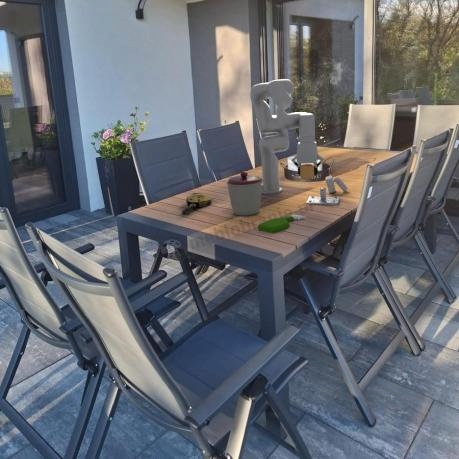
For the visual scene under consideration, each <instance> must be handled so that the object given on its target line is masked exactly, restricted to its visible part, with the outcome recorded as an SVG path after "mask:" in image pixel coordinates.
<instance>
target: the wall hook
mask: <svg viewBox="0 0 459 459" xmlns="http://www.w3.org/2000/svg"><path fill="white" fill-rule="evenodd" d="M325 183H326V187H327V190H328V193H329V194H333V193H336V186H335V183H336V184H337V185H338V186H339V188H340V189H341V191H342V192H344V193H345V192H346V191H347V190H349V188H348V186H347V185H346V184H345V182H343V180H342V179H341V178H340V177H339V176H335V178H333V175H328V176H326V177H325Z"/></svg>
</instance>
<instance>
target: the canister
mask: <svg viewBox="0 0 459 459" xmlns="http://www.w3.org/2000/svg"><path fill="white" fill-rule="evenodd" d="M248 174H249V173H248V172H247V171H241V172H240V175H238V176H233V177H230V178H229V179H227V181H225V184H226V185H227V190H228V194H229V200H230V204H231V209H232V212H233V214H235V215H237V216H243V217H244V216H245V217H247V216H248V217H249V216H252V215H256V214H258V213H259V211H260V209H261V203H262V202H261V200H262V193H261V187H262V184H263V178H261V177H260V176H258V175H251V174H249V175H248Z"/></svg>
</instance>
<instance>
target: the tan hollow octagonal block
mask: <svg viewBox="0 0 459 459" xmlns="http://www.w3.org/2000/svg"><path fill="white" fill-rule="evenodd" d="M314 168H315V166H314V164H313V163H302V164H301V165H300V176H299V177H300V179H304V180H305V179H307V180H308V179H314V178H316V176H314Z"/></svg>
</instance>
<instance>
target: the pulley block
mask: <svg viewBox="0 0 459 459" xmlns="http://www.w3.org/2000/svg"><path fill="white" fill-rule="evenodd" d="M214 199H215V197H213V198H212V195H209V194H204V193H200V192H196V193H195V192H193V193H192V194H190V195H188V196H187V197H186V200H185V202H186V206H187V207H185V208H183V209H182V210H181V212H182V213H183V214H187V213H189V212H191V211H193V210H198V209H202V208H206V207H209V206H211V205H212V204H213V203H212V201H213V200H214Z"/></svg>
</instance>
